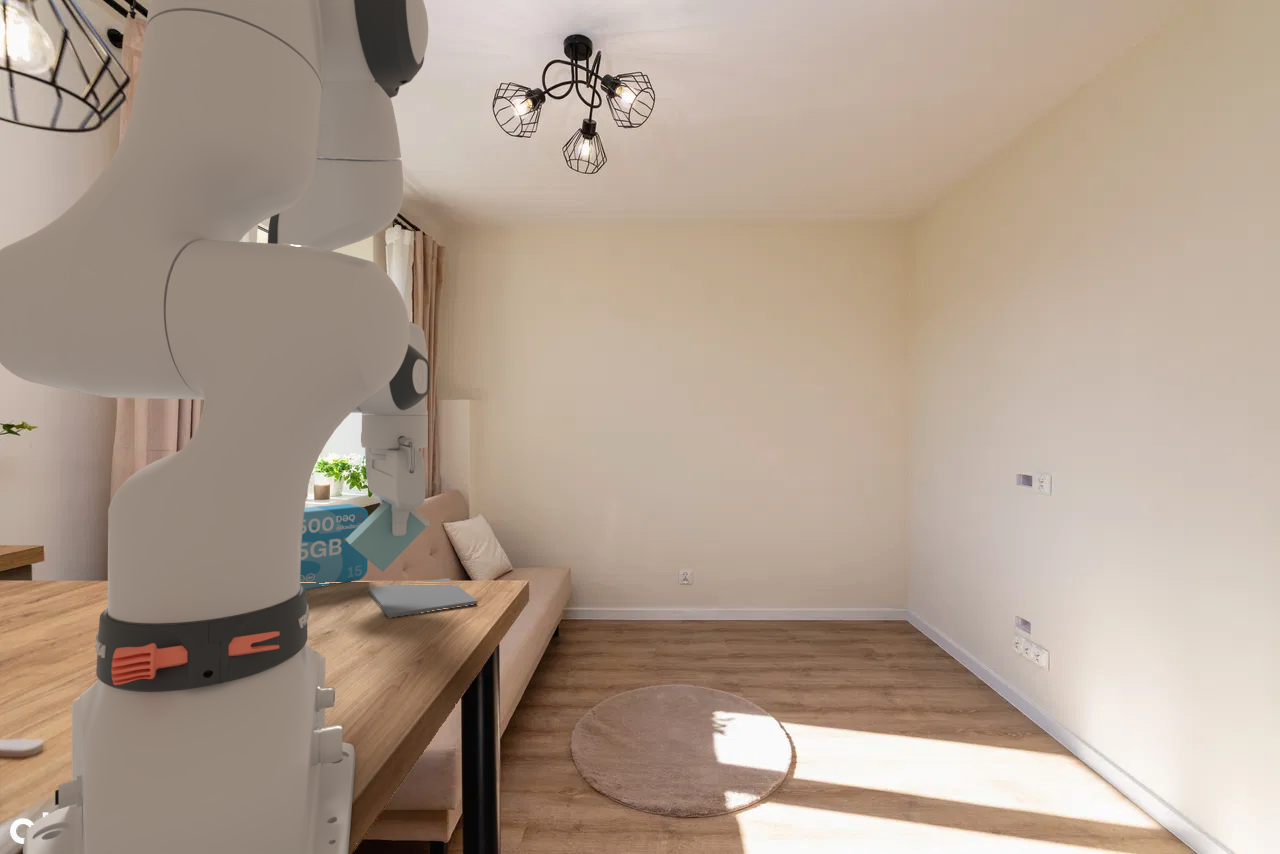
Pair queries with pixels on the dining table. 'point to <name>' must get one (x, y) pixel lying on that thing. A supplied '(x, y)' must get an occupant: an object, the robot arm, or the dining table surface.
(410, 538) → the tea tin
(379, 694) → the dining table surface
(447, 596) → the felt mat
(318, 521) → the data package
